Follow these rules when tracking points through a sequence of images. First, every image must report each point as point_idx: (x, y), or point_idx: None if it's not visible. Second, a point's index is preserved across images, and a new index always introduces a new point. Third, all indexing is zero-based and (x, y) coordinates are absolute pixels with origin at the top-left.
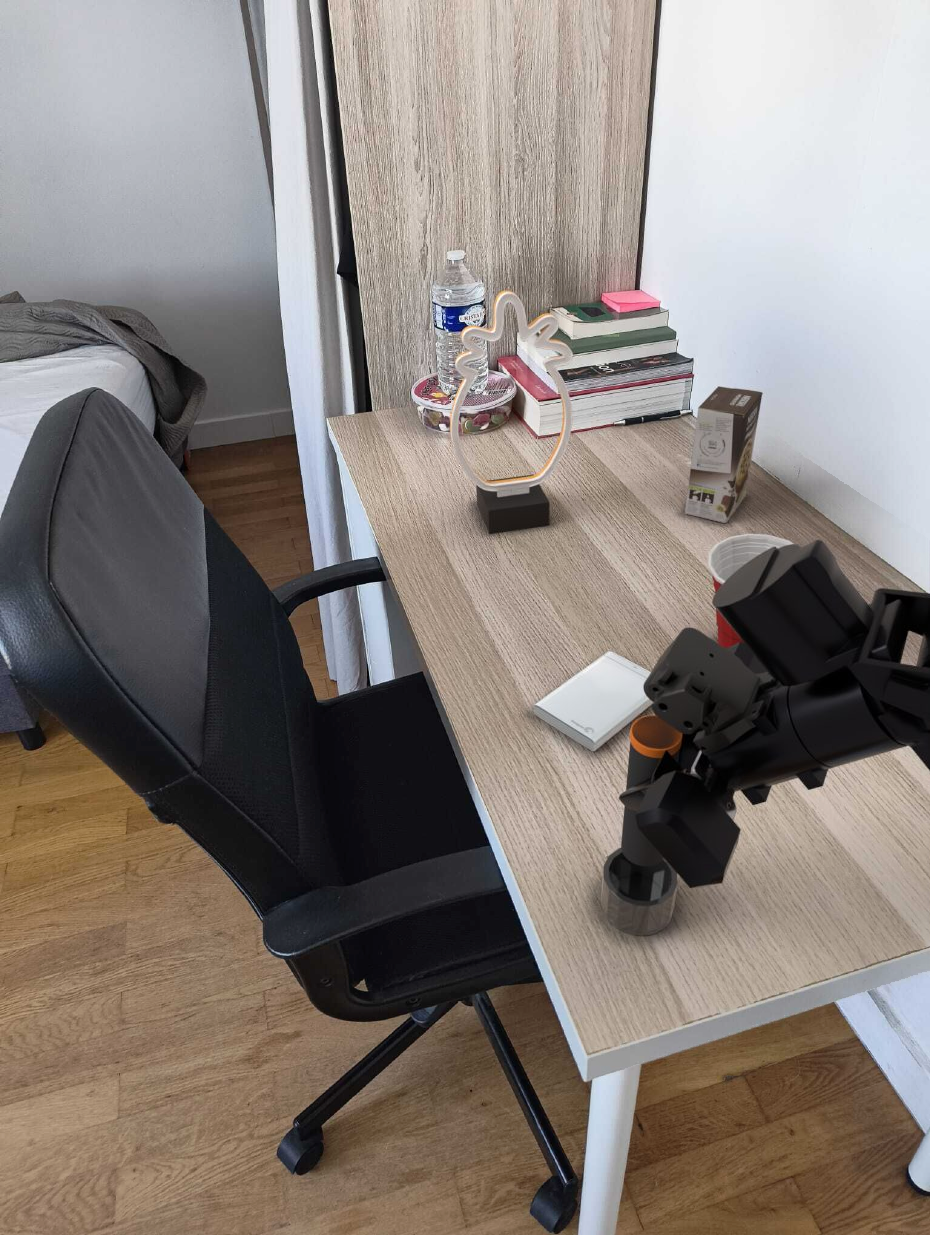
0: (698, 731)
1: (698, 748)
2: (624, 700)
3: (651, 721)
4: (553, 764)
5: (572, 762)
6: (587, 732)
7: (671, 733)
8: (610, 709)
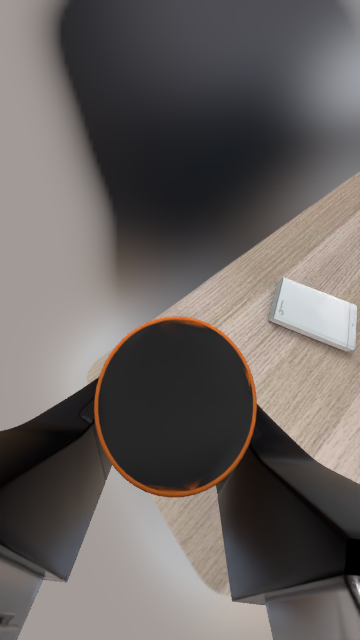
0: (265, 514)
1: (234, 480)
2: (318, 326)
3: (218, 365)
4: (247, 302)
5: (254, 311)
6: (278, 311)
7: (187, 449)
8: (305, 319)
